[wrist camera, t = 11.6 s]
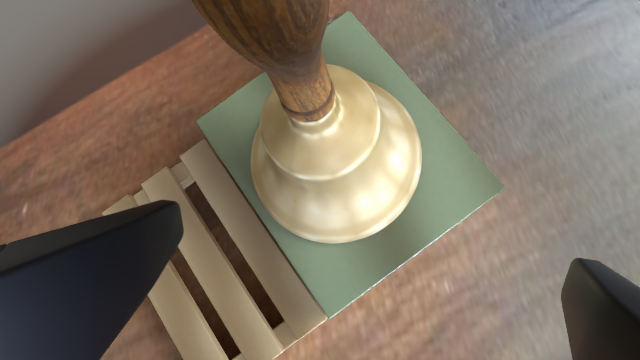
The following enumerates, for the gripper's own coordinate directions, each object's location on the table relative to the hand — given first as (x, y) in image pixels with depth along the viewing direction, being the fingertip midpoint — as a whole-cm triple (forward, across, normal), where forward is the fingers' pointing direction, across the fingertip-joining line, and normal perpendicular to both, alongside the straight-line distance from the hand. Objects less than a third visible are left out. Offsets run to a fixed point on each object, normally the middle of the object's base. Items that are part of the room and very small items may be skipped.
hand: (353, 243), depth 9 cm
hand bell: (+10, +3, +2) cm, 11 cm away
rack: (+11, +6, +7) cm, 14 cm away
